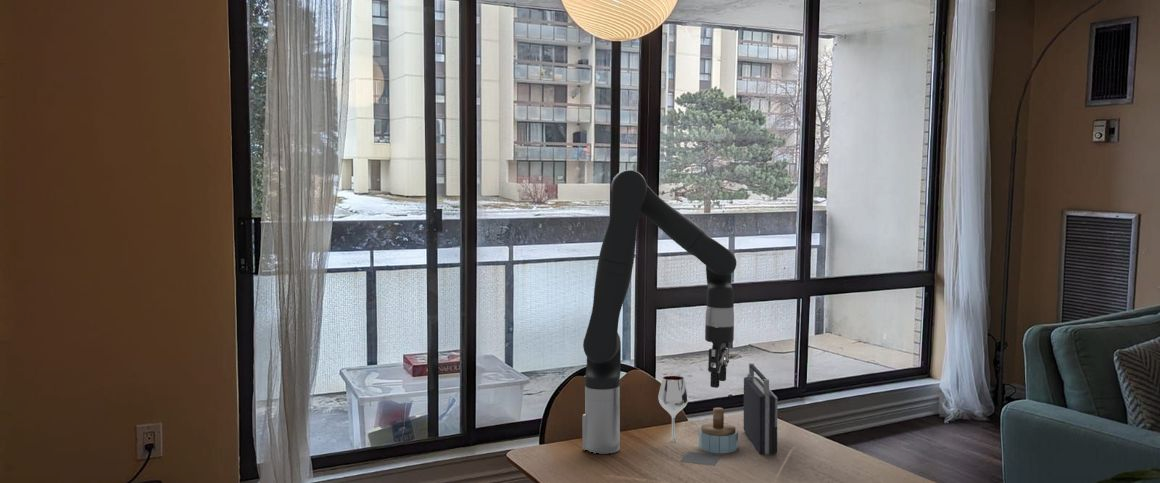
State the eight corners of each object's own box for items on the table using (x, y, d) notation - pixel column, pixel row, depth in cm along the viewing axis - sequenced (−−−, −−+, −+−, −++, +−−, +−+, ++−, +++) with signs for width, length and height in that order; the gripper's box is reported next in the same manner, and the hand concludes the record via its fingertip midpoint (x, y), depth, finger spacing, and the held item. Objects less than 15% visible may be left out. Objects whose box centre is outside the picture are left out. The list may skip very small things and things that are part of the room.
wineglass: (694, 443, 233) (694, 378, 232) (671, 448, 228) (671, 382, 227) (674, 436, 240) (674, 373, 239) (652, 441, 235) (652, 377, 234)
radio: (779, 456, 221) (780, 380, 220) (759, 456, 221) (759, 380, 220) (761, 431, 245) (761, 362, 244) (743, 431, 245) (743, 362, 244)
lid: (731, 437, 221) (731, 414, 221) (697, 433, 225) (697, 411, 224) (738, 428, 230) (738, 406, 229) (705, 425, 233) (705, 403, 233)
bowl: (695, 452, 224) (695, 434, 224) (704, 442, 234) (704, 424, 233) (733, 456, 221) (733, 437, 220) (740, 446, 230) (740, 428, 230)
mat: (679, 463, 215) (679, 461, 215) (688, 453, 224) (688, 451, 224) (714, 467, 212) (714, 465, 212) (722, 457, 220) (722, 455, 220)
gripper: (711, 319, 234) (710, 377, 234) (699, 326, 220) (698, 388, 221) (738, 321, 231) (737, 380, 232) (728, 328, 218) (726, 390, 218)
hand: (718, 383), depth 226 cm, fingers open, 8 cm apart
